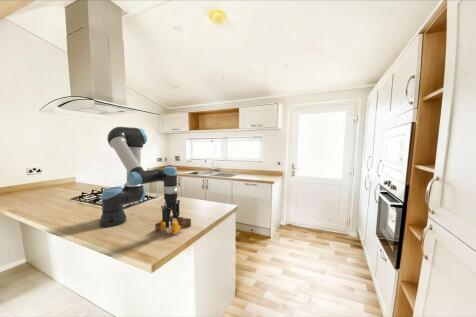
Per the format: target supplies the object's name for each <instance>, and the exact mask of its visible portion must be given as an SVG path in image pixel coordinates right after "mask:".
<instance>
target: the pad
mask: <svg viewBox="0 0 476 317" xmlns="http://www.w3.org/2000/svg"><path fill="white" fill-rule="evenodd" d="M159 232H160V233H164V234H168V235H172V236H179V235H181V234H182V233H183V231H182V230H181V231H180V232H178V233H177V234H173V233H168V232H166V231H163V230H160V231H159Z"/></svg>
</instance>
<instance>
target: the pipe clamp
mask: <svg viewBox="0 0 476 317" xmlns="http://www.w3.org/2000/svg"><path fill="white" fill-rule="evenodd" d="M160 221H161V230H160V231H162V230H163V231H166V223H165V222H163V221H162V218H161V219H160ZM181 227H182V225H178V222H177V221H175V222H173V225H172V224H171V233H173V234H177V233H178V232H180V231H182V230H181Z"/></svg>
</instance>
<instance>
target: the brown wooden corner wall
mask: <svg viewBox="0 0 476 317" xmlns="http://www.w3.org/2000/svg"><path fill="white" fill-rule="evenodd" d="M172 218H174V217H173V214H172V215H170V222H171V225H172ZM177 222H178V225H179V226H181V227H186V228H187V227H188V228H190V227H192V219H191V218H188V217H184V216H180V215H179V216H178V218H177ZM154 227H155V230H154V231H155V233H158V232H160V231H162V230H161V220H160V221H158V222H156V223H155V225H154Z"/></svg>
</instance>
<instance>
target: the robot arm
mask: <svg viewBox="0 0 476 317" xmlns="http://www.w3.org/2000/svg"><path fill="white" fill-rule="evenodd" d="M106 139H107V143H108V145H109V147H111V148H112V149H113V150H114V151H115V153H116V154H117V157H118V158H119V160H120V161H121V163H122V165H123V166H124V168H125V169H126V182H125V183H124V184H123V185H124V186H123V187H122V186H113V187H109V188H105V189H104V190H103V191H102V192H101V197H100V199H101V207H102V208H101V209H102V210H101V211H102V213H101V216H100V219H99V226H100V227H103V228H111V227H117V226H119V225H121V224H125V223H126V222H127V216H126V213H125V210H124V205H128V204H132V203H133V204H134V203H138V202H140V201H143V200H144V199H145V196H146V193H147V191H146V187H145V185H146V184H151V183H159V182H162V183H163V193H164V194H163V200H164V201H165V202H164V205H161V206H160V207H161V215H162V216H161V219H162V221H163V222H165V223H166V232H168V233H171V226H172V225H173V222H175V221H177V218H178V216H179V217H180V214H181V213H180V202H181V201H180V199H178V170H177V169H178V167H176V166H165V167H163V168H153V169H149V170H144V168H143V167H142V165H141V155H142V153H141V151H142V149H143V148H144V145H146V143H147V141H148V135H147V133H146V132H145V130H144V129H143V128H139V127H131V126H130V127H128V126H116V127H112V129H110V131H109V132H108V134H107V138H106ZM171 213H172V215H173V217H174V218H172V224H171V222H170V216H171ZM168 233H167V234H168Z"/></svg>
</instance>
